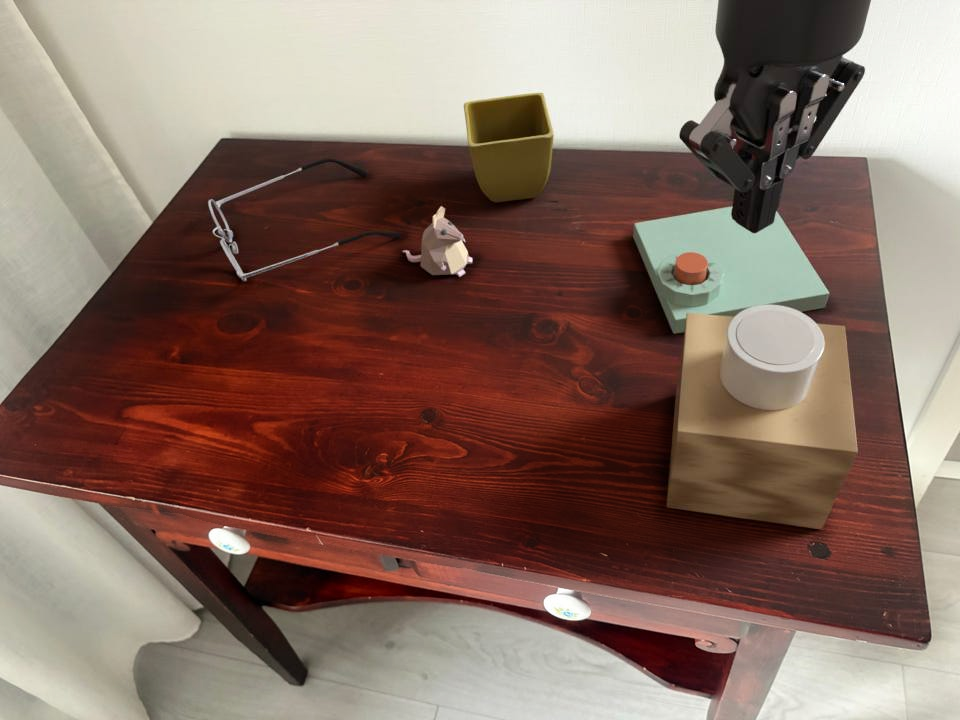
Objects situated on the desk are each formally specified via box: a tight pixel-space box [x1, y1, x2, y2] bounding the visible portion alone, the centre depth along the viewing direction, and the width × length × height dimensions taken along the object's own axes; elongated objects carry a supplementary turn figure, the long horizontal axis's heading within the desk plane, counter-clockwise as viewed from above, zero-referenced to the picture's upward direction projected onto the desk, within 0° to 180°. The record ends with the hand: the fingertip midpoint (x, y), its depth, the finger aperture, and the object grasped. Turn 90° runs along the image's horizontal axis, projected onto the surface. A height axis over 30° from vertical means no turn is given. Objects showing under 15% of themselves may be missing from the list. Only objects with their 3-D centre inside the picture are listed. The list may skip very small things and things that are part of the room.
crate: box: [666, 313, 859, 530], centre depth 55 cm, size 11×11×10 cm
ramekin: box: [720, 305, 825, 410], centre depth 50 cm, size 6×6×4 cm
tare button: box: [674, 252, 708, 285], centre depth 68 cm, size 3×3×2 cm
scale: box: [632, 206, 830, 335], centre depth 72 cm, size 14×14×4 cm
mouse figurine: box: [402, 205, 473, 278], centre depth 76 cm, size 5×8×7 cm, turn 64°
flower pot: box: [463, 92, 555, 203], centre depth 82 cm, size 9×9×9 cm
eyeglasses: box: [207, 158, 404, 283], centre depth 83 cm, size 16×19×5 cm
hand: (752, 223), depth 50 cm, fingers closed
